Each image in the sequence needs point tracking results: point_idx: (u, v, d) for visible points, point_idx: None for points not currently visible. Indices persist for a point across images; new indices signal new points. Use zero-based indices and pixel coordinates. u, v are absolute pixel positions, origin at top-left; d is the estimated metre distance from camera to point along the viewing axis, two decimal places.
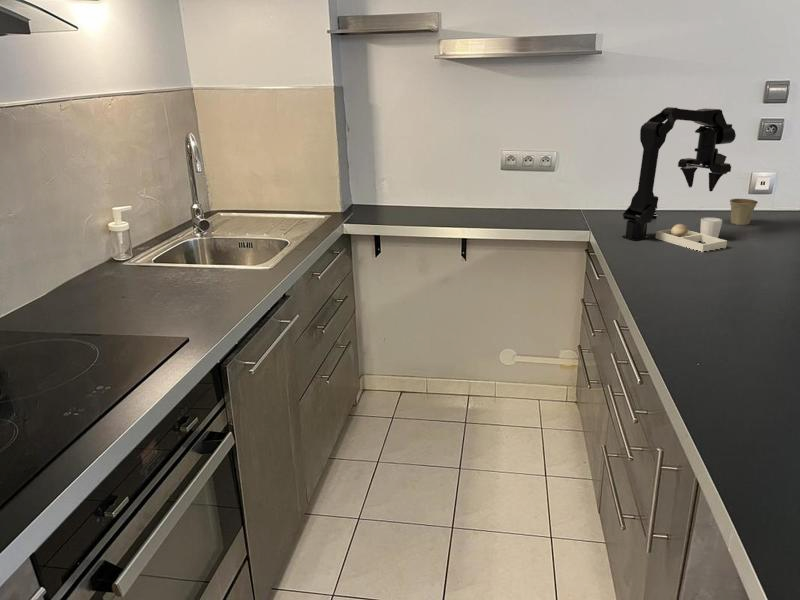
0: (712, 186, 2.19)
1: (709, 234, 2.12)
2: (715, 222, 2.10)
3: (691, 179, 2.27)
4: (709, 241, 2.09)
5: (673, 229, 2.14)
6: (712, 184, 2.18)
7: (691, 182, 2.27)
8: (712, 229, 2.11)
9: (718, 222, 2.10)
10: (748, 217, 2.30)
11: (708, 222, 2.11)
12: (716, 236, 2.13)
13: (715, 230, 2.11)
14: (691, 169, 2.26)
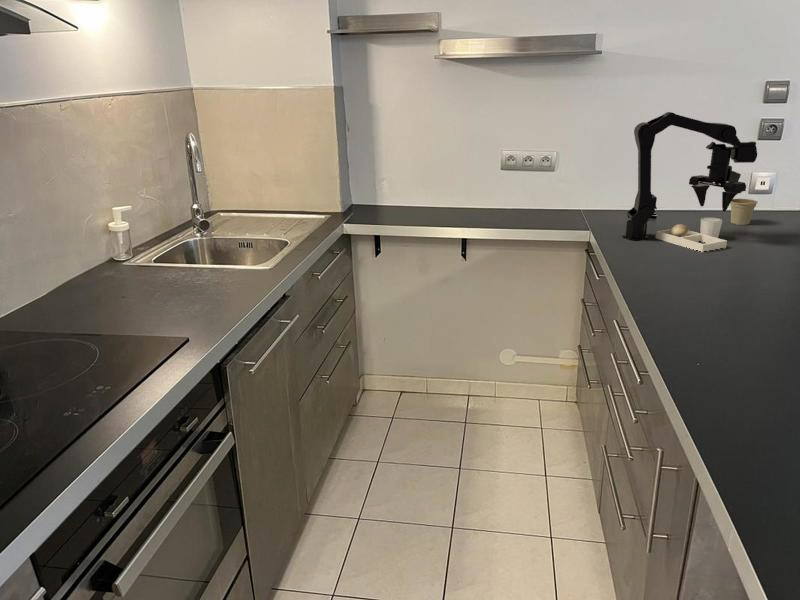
0: (726, 206, 2.06)
1: (709, 234, 2.12)
2: (715, 222, 2.10)
3: (703, 197, 2.15)
4: (709, 241, 2.09)
5: (673, 229, 2.14)
6: (726, 204, 2.06)
7: (703, 201, 2.15)
8: (712, 229, 2.11)
9: (718, 222, 2.10)
10: (748, 217, 2.30)
11: (708, 222, 2.11)
12: (716, 236, 2.13)
13: (715, 230, 2.11)
14: (703, 187, 2.14)
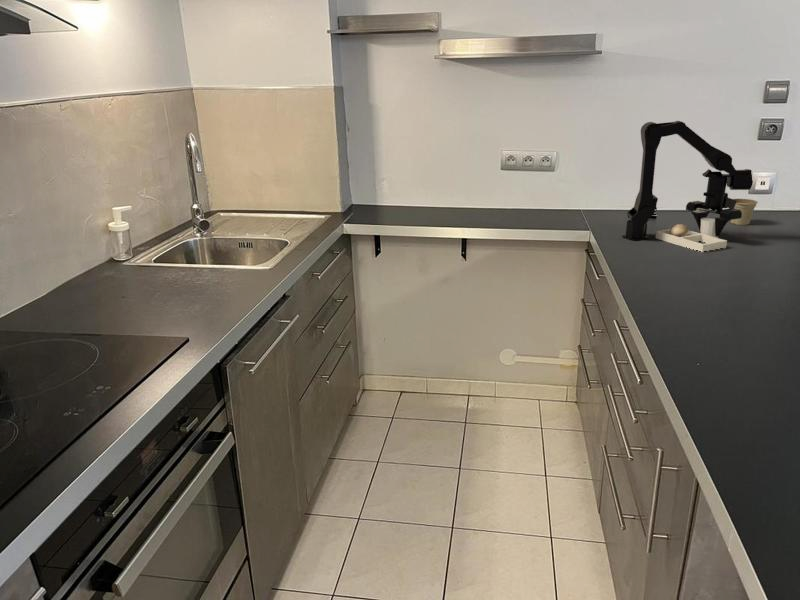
0: (718, 231, 2.11)
1: (709, 234, 2.12)
2: None
3: None
4: (709, 241, 2.09)
5: (673, 229, 2.14)
6: (718, 229, 2.10)
7: None
8: (712, 229, 2.11)
9: None
10: (748, 217, 2.30)
11: (708, 222, 2.11)
12: None
13: None
14: (703, 214, 2.16)
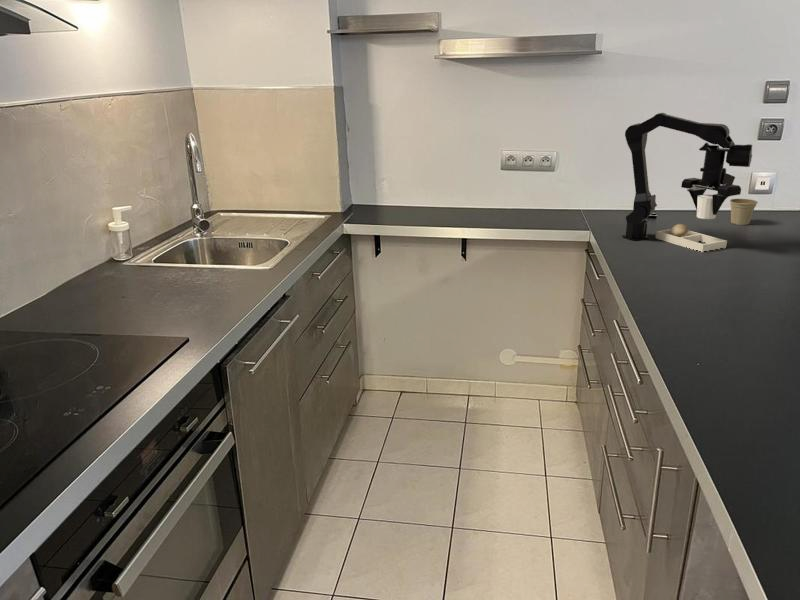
0: (716, 209, 1.99)
1: (706, 212, 2.01)
2: None
3: None
4: (709, 241, 2.09)
5: (673, 229, 2.14)
6: (716, 207, 1.99)
7: None
8: (709, 207, 2.00)
9: None
10: (748, 217, 2.30)
11: (705, 199, 1.99)
12: None
13: None
14: (699, 191, 2.04)
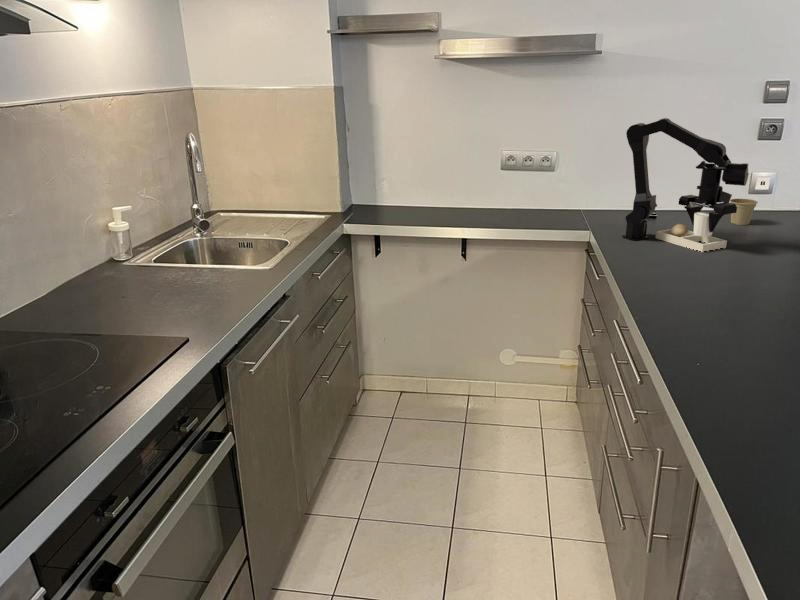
0: (712, 227, 2.01)
1: (703, 229, 2.02)
2: None
3: None
4: (709, 241, 2.09)
5: (673, 229, 2.14)
6: (712, 225, 2.00)
7: None
8: (706, 224, 2.01)
9: None
10: (748, 217, 2.30)
11: (702, 217, 2.01)
12: None
13: None
14: (696, 208, 2.06)
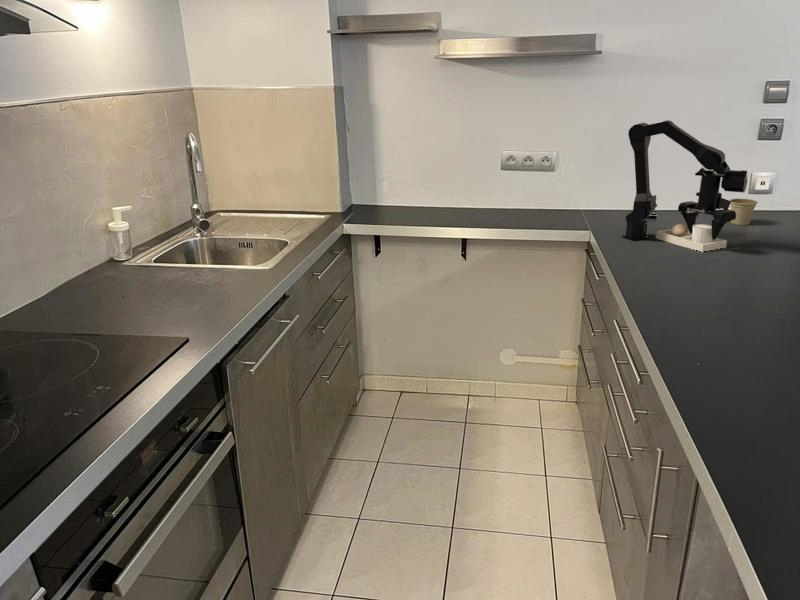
0: (715, 234, 2.00)
1: (701, 242, 2.04)
2: (707, 229, 2.02)
3: (692, 224, 2.09)
4: None
5: (673, 229, 2.14)
6: (715, 232, 2.00)
7: (692, 228, 2.09)
8: (704, 237, 2.03)
9: (711, 229, 2.02)
10: (748, 217, 2.30)
11: (700, 229, 2.02)
12: None
13: (707, 238, 2.03)
14: (692, 214, 2.08)
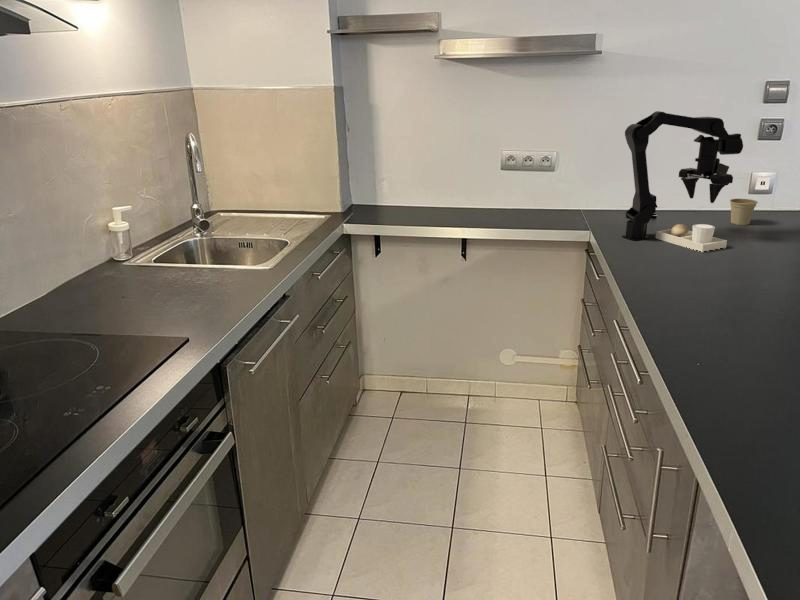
0: (713, 198, 2.10)
1: (701, 242, 2.04)
2: (707, 229, 2.02)
3: (692, 190, 2.18)
4: None
5: (673, 229, 2.14)
6: (713, 196, 2.09)
7: (692, 193, 2.18)
8: (704, 237, 2.03)
9: (710, 229, 2.02)
10: (748, 217, 2.30)
11: (700, 229, 2.02)
12: None
13: (707, 238, 2.03)
14: (692, 180, 2.17)
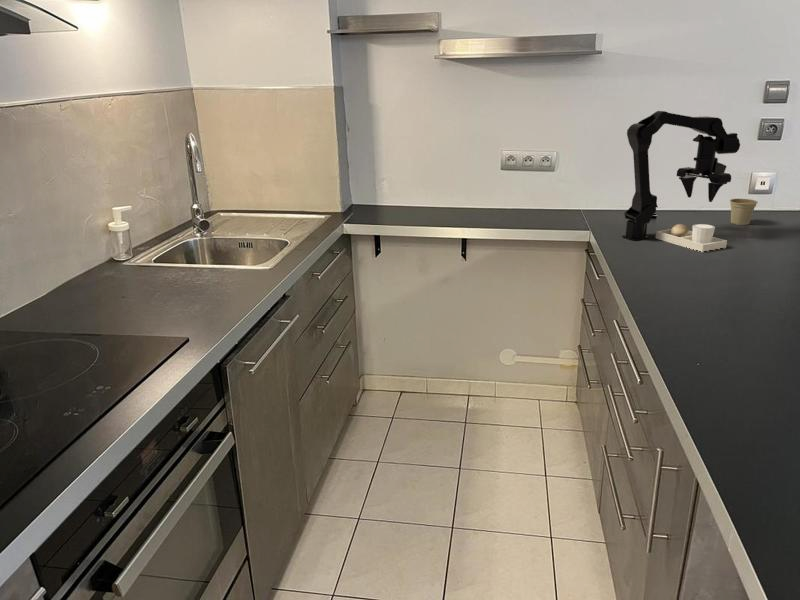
0: (712, 196, 2.12)
1: (701, 242, 2.04)
2: (707, 229, 2.02)
3: (690, 189, 2.20)
4: None
5: (673, 229, 2.14)
6: (712, 194, 2.11)
7: (690, 192, 2.21)
8: (704, 237, 2.03)
9: (710, 229, 2.02)
10: (748, 217, 2.30)
11: (700, 229, 2.02)
12: None
13: (707, 238, 2.03)
14: (690, 179, 2.20)
